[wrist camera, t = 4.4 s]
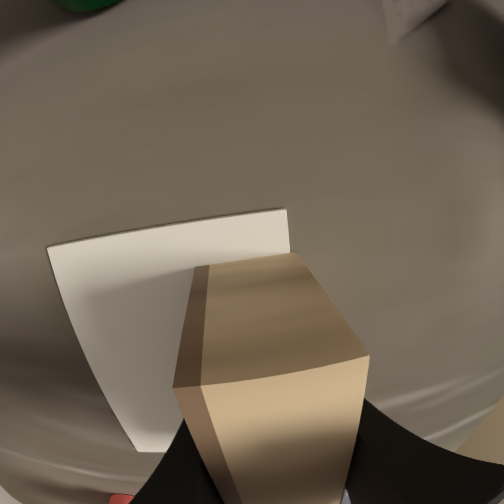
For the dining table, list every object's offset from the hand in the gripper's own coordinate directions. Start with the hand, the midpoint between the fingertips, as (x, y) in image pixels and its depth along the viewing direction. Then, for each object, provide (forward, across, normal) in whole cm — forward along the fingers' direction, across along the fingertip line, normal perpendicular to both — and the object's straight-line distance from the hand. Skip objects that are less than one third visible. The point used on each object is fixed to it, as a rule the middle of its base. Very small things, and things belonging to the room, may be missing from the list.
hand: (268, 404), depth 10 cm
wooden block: (+2, 0, 0) cm, 3 cm away
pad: (+3, +3, 0) cm, 4 cm away
